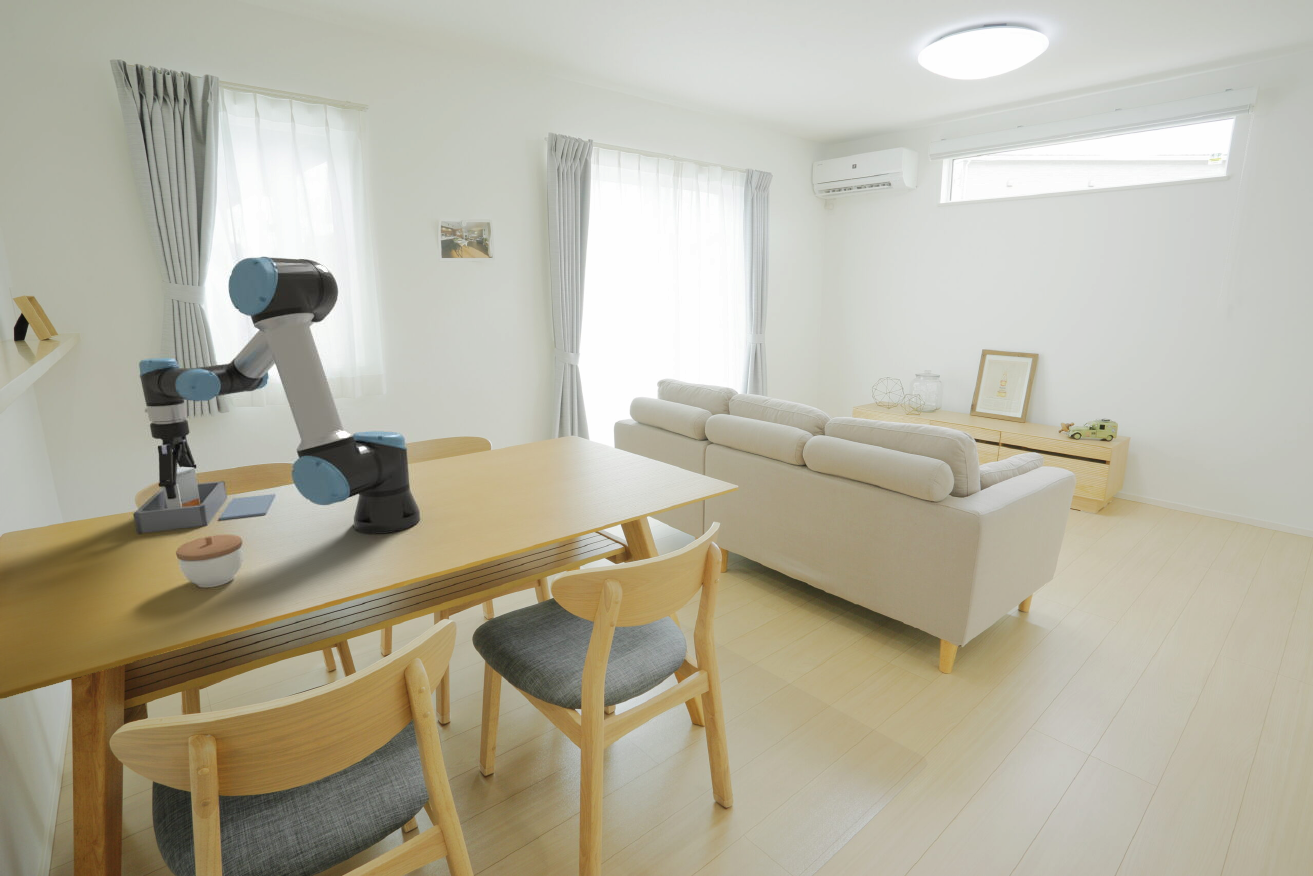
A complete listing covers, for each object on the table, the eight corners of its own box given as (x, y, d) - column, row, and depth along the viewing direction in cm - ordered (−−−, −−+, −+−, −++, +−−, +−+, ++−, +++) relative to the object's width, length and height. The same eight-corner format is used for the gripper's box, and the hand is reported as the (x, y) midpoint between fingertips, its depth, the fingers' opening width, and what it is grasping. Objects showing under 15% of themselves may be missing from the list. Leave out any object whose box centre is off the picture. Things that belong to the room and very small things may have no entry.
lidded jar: (204, 569, 131) (196, 527, 128) (258, 568, 132) (251, 526, 129) (169, 594, 120) (160, 548, 118) (228, 592, 121) (220, 547, 119)
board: (265, 514, 162) (265, 512, 162) (219, 520, 158) (219, 517, 158) (275, 496, 176) (275, 494, 176) (233, 500, 173) (233, 498, 172)
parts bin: (207, 525, 155) (204, 506, 154) (137, 533, 149) (133, 513, 148) (227, 498, 174) (224, 480, 173) (165, 504, 169) (162, 486, 168)
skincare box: (181, 519, 159) (173, 473, 156) (167, 518, 159) (159, 472, 157) (203, 511, 164) (195, 467, 162) (189, 510, 165) (181, 466, 162)
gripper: (165, 412, 166) (179, 489, 171) (131, 432, 144) (149, 520, 149) (199, 410, 169) (212, 486, 174) (171, 429, 146) (187, 515, 151)
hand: (183, 501), depth 161 cm, fingers open, 13 cm apart
